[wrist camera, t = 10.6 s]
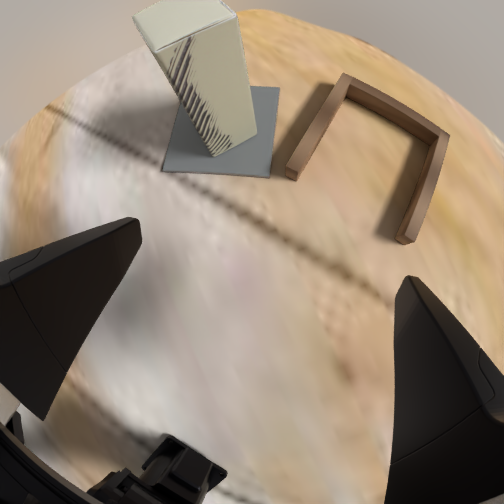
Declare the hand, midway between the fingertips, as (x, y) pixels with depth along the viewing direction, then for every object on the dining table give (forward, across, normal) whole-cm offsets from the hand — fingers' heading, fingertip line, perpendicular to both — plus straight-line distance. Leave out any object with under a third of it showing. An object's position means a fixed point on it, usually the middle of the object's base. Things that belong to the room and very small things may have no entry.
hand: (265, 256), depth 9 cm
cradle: (+17, -6, 0) cm, 18 cm away
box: (+16, +7, -1) cm, 18 cm away
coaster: (+16, +7, -1) cm, 18 cm away
